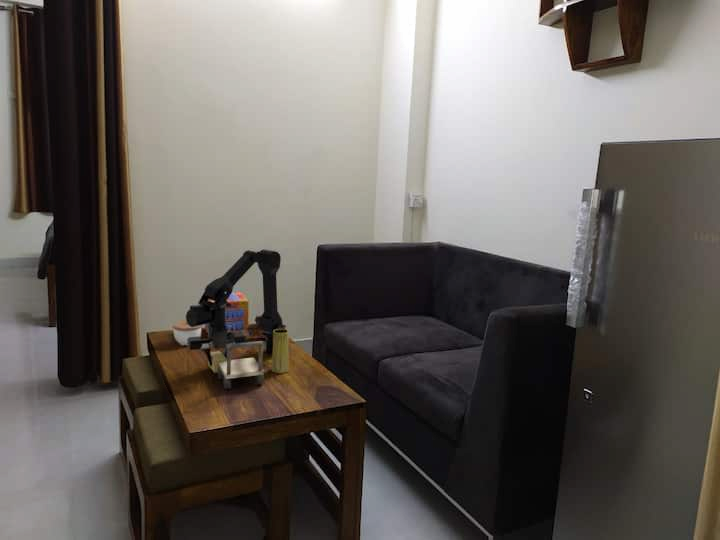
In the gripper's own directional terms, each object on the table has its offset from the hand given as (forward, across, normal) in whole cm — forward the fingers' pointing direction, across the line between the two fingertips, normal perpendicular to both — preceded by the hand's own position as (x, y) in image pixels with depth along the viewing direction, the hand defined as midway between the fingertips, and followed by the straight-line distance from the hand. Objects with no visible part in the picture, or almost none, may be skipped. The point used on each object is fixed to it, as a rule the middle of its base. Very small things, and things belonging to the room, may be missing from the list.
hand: (217, 365), depth 183 cm
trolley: (+2, +5, -12) cm, 13 cm away
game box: (+3, +12, +42) cm, 44 cm away
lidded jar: (+2, -5, +34) cm, 34 cm away
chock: (+1, 0, 0) cm, 1 cm away
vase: (+2, +20, -6) cm, 21 cm away
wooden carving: (+2, +26, +30) cm, 40 cm away
